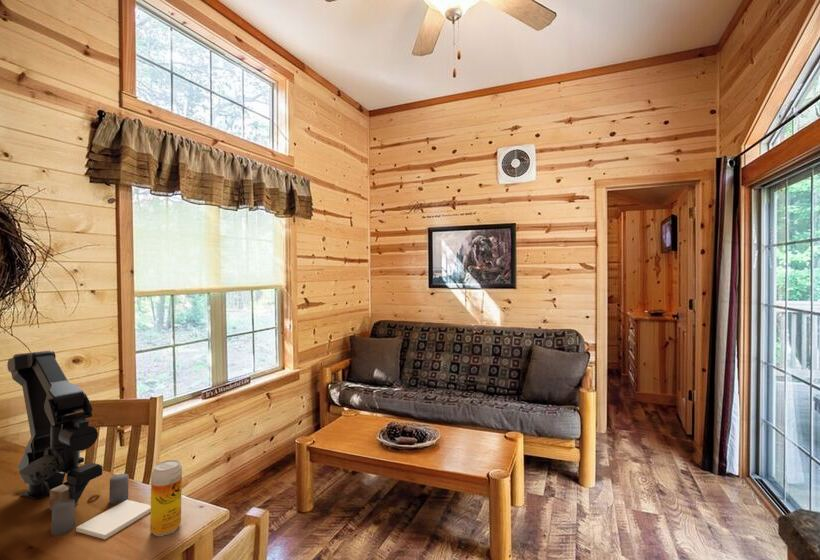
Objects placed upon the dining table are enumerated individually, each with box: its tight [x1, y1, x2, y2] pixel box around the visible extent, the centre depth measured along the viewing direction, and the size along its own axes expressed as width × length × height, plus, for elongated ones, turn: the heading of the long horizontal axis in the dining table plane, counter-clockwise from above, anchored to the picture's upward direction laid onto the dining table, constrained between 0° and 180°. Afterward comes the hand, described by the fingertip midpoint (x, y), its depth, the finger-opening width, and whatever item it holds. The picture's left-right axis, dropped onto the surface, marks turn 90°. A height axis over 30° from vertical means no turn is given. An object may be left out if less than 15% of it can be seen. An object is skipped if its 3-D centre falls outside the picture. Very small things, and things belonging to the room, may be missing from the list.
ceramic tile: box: [75, 499, 151, 540], centre depth 95 cm, size 9×12×1 cm
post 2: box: [108, 473, 130, 506], centre depth 104 cm, size 4×4×6 cm
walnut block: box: [49, 484, 79, 511], centre depth 100 cm, size 4×4×5 cm
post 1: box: [50, 499, 76, 536], centre depth 91 cm, size 4×4×6 cm
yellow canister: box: [149, 459, 183, 537], centre depth 92 cm, size 6×6×15 cm
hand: (64, 502), depth 100 cm, fingers open, 6 cm apart
